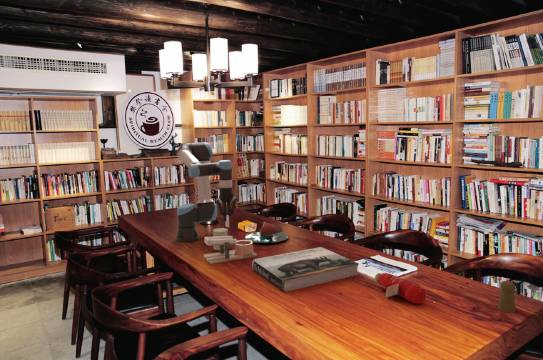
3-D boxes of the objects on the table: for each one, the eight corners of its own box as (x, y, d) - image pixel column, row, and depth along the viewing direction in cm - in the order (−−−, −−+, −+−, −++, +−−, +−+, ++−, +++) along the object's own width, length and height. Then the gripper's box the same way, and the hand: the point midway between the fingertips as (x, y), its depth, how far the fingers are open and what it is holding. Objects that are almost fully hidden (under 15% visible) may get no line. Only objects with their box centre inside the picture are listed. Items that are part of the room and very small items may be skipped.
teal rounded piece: (264, 248, 243) (263, 230, 242) (237, 239, 264) (236, 222, 263) (296, 239, 261) (296, 222, 260) (268, 231, 282) (268, 216, 281)
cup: (232, 251, 234) (232, 241, 233) (249, 249, 238) (248, 239, 237) (238, 256, 224) (237, 246, 223) (255, 253, 228) (255, 243, 228)
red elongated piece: (407, 294, 155) (363, 275, 177) (409, 312, 157) (366, 291, 178) (428, 283, 160) (383, 265, 182) (430, 301, 162) (385, 281, 184)
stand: (203, 256, 229) (202, 239, 228) (247, 249, 240) (247, 233, 239) (210, 264, 216) (209, 246, 215) (257, 256, 227) (256, 239, 226)
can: (225, 250, 240) (225, 231, 238) (211, 250, 241) (210, 230, 240) (230, 246, 249) (229, 227, 247) (216, 245, 250) (215, 227, 249)
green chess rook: (494, 306, 157) (495, 279, 156) (508, 305, 158) (510, 278, 156) (504, 313, 151) (505, 285, 150) (519, 312, 152) (521, 284, 150)
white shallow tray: (201, 239, 231) (201, 234, 231) (228, 238, 238) (228, 233, 238) (207, 245, 217) (208, 240, 217) (236, 244, 224) (236, 239, 224)
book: (282, 293, 176) (282, 280, 175) (252, 271, 205) (251, 259, 204) (359, 275, 195) (359, 263, 194) (321, 257, 224) (321, 247, 223)
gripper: (216, 188, 225) (218, 229, 228) (238, 186, 230) (239, 226, 234) (213, 186, 232) (214, 226, 235) (234, 185, 237) (235, 223, 240)
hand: (227, 226), depth 234 cm, fingers closed
